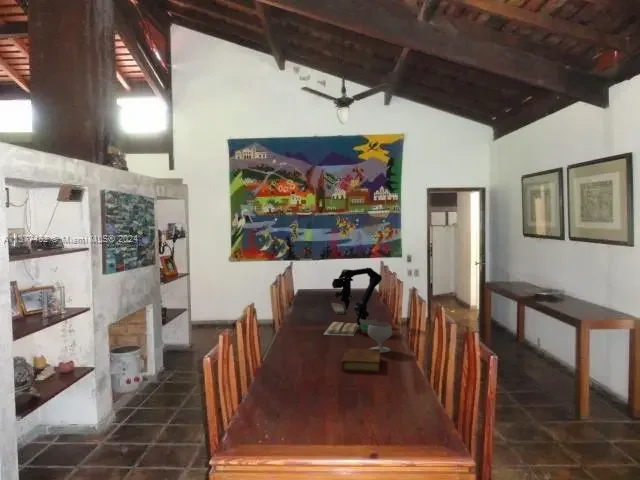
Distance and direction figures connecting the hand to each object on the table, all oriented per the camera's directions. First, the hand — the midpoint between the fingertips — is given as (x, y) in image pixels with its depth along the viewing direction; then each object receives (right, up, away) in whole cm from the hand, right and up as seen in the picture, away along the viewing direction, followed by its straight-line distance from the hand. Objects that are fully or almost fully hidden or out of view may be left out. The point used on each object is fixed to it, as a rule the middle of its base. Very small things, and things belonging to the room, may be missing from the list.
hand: (346, 309), depth 334 cm
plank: (-8, -12, -10) cm, 17 cm away
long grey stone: (-4, -10, +61) cm, 62 cm away
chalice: (+15, -15, -62) cm, 65 cm away
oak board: (+1, -13, -12) cm, 17 cm away
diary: (+3, -16, -87) cm, 89 cm away
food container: (+12, -13, -23) cm, 29 cm away
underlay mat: (-4, -13, -11) cm, 17 cm away
